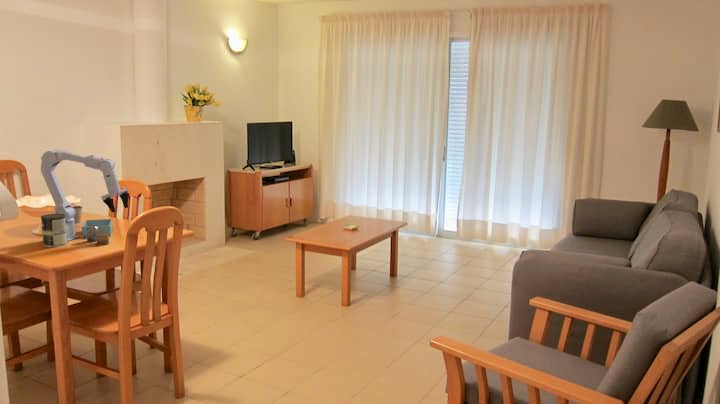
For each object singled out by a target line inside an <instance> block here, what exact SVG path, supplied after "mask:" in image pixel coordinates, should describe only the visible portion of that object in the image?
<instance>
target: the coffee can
mask: <svg viewBox="0 0 720 404" xmlns="http://www.w3.org/2000/svg"><path fill="white" fill-rule="evenodd" d="M40 219H41V220H40V221H41V229H42V230H41V232H42V244H43V245H42V246H43V247H46V248H57V247H58V248H60V247H63V246H66V245H67V244H68V241H67V237H66V222H65V215H64V214H56V213H50V214H42V215H41V216H40Z"/></svg>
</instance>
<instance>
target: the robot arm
mask: <svg viewBox="0 0 720 404" xmlns="http://www.w3.org/2000/svg"><path fill="white" fill-rule="evenodd" d="M40 159H41V165H40V172H41V174H42V177H43V179H44V182H45V184H46V186H47V188H48V190H49V193H50V196H51V197H52V200H53V202H54V205H55V206H54V211H55V214H64V215H65V222H66V237H67V242H70V241H72V240H75V239H78V238H80V235H76V223H74V216H75V214H76V211H75V209H74V208H73V207H72V206H73V205H72V204H71V202H69V201H68V200H67V198H66V196H65V193H64V191H63V189H62V186H61V184H60V182H59V179H58V177H57V175H56V172H55V170H56V167H57V166H58V165H59V164H60V163H61V162H62V161H72V162H76V163H81V164H84V166H85V167H87V168H91V169H95V170H97V171H100V172H102V175H103V179H104V182H105V186H106V189H107V191H108V193H107V194H103V195H101V196H100V197H101V200H102V202H103V203H104V204H105V205H106V206H107V207H108V209H109V210H110V212H111V213H116V208H115V205H114V198H115V197H117V196H119V198H120V200H121V201H122V206H123V208H124V209H128V208H129V197H130V190H129V188H124V189H121V186H120V183H119V179H118V177H117V173H116V170H115V165H116V164H115V162H114V160H112V159H110V158H107V159H105V158H104V157H98V156H95V154H90V155H86V156H84V155H80V154H76V153H72V152H70V151H66V150H63V149H61V150H60V149H54V150H47V151H45V152H44V153H43V154H42V155H41V158H40Z"/></svg>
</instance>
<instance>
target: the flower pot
mask: <svg viewBox="0 0 720 404" xmlns="http://www.w3.org/2000/svg"><path fill="white" fill-rule="evenodd" d="M73 206H74V207H73V208H74V209H75V211H76V214H75V216H74V223H75V224H79V223H81V219H82V218H81V216H82V210H83V206H80V205H73Z"/></svg>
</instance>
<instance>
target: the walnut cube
mask: <svg viewBox="0 0 720 404" xmlns="http://www.w3.org/2000/svg"><path fill="white" fill-rule="evenodd" d="M109 237H110V236H109V234H108V232H105V233H97V234H96V241H97V242H96V246H107V245H109V243H110V238H109Z"/></svg>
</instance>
